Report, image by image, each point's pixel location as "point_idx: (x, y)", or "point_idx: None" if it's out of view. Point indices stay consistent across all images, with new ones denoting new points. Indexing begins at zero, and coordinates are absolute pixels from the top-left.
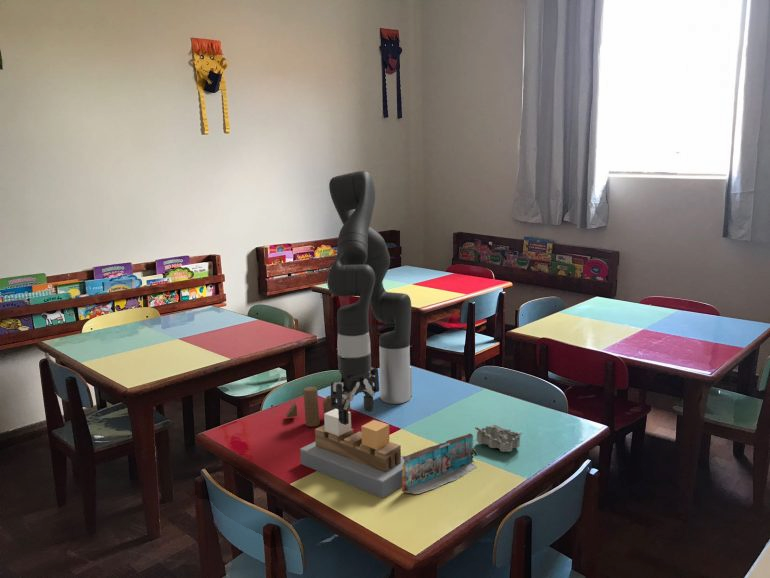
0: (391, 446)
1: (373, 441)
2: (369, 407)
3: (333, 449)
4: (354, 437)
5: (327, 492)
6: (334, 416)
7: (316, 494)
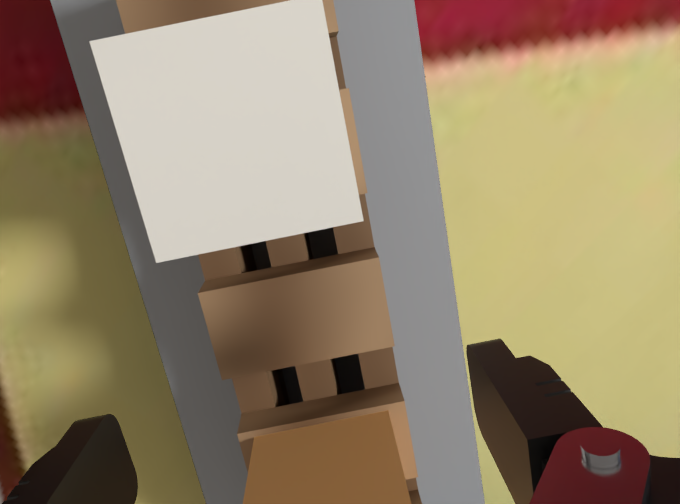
0: None
1: None
2: (490, 440)
3: None
4: (282, 317)
5: (63, 330)
6: (149, 200)
7: (9, 312)
